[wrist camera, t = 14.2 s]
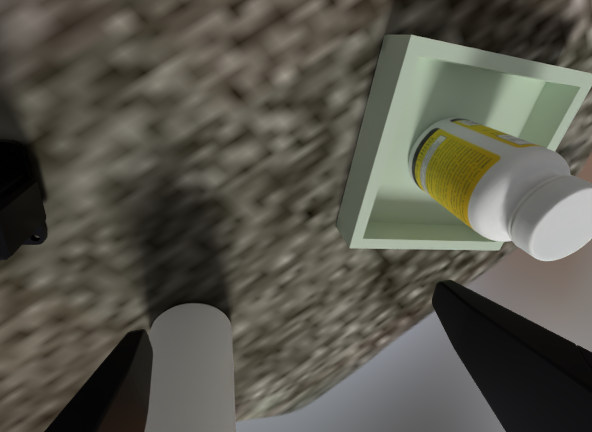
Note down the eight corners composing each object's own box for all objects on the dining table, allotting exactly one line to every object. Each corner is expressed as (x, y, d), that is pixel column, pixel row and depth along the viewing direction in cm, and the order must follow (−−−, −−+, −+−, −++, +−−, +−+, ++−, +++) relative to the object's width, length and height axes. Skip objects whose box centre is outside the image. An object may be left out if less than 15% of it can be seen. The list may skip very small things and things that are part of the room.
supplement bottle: (412, 200, 24) (514, 289, 16) (399, 136, 21) (515, 204, 13) (478, 170, 24) (615, 244, 16) (474, 102, 21) (640, 148, 13)
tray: (335, 225, 24) (349, 248, 22) (384, 34, 18) (411, 34, 16) (473, 230, 28) (499, 250, 25) (553, 70, 22) (597, 75, 19)
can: (205, 287, 25) (196, 464, 15) (244, 333, 28) (258, 501, 18) (133, 322, 25) (74, 520, 15) (180, 363, 28) (159, 546, 18)
